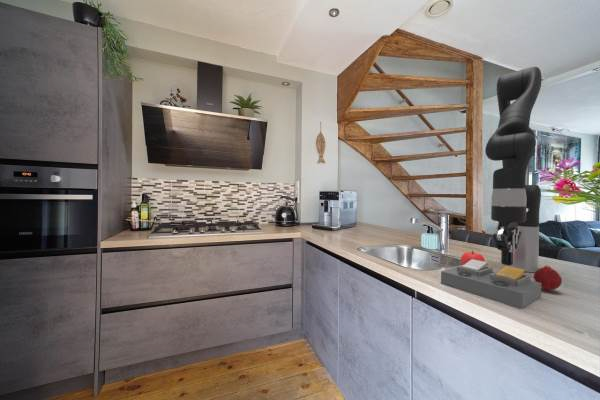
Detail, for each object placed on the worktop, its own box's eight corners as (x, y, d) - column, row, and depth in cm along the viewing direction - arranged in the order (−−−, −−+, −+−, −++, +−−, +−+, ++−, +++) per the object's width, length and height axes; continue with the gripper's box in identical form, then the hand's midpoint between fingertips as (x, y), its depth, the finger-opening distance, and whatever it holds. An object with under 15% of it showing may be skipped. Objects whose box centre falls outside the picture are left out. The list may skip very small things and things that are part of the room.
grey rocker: (472, 262, 80) (471, 258, 80) (487, 265, 76) (487, 262, 76) (462, 269, 76) (461, 266, 76) (477, 273, 73) (477, 269, 73)
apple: (464, 273, 86) (464, 252, 86) (456, 267, 94) (457, 247, 94) (489, 276, 84) (490, 253, 84) (480, 269, 91) (480, 249, 91)
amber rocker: (505, 269, 72) (505, 265, 72) (524, 273, 68) (524, 269, 68) (496, 278, 69) (495, 274, 69) (515, 283, 65) (515, 278, 65)
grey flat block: (462, 275, 83) (463, 261, 83) (541, 296, 66) (541, 278, 66) (440, 283, 76) (441, 267, 76) (522, 309, 59) (522, 288, 59)
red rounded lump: (567, 295, 67) (568, 268, 67) (543, 293, 68) (544, 266, 68) (550, 287, 73) (550, 262, 73) (528, 286, 74) (529, 261, 74)
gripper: (501, 203, 74) (500, 258, 74) (482, 204, 67) (481, 264, 67) (534, 204, 67) (532, 264, 67) (516, 205, 60) (515, 272, 61)
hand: (506, 264), depth 67 cm, fingers closed
